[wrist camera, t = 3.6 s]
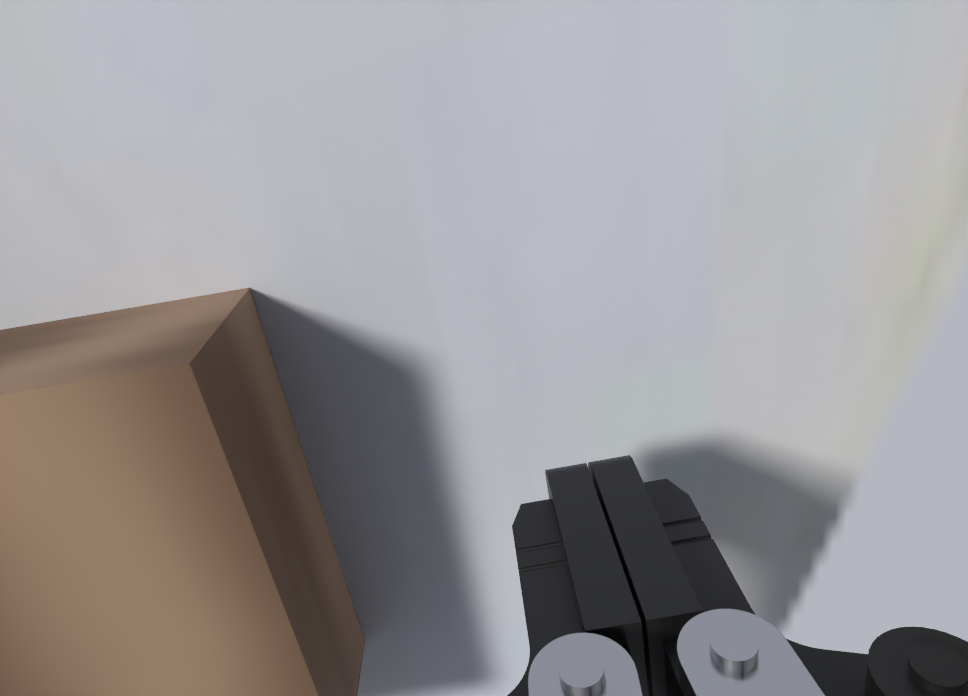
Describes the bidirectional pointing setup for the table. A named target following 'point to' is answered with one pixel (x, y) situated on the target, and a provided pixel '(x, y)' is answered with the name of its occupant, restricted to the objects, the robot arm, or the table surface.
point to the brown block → (162, 514)
